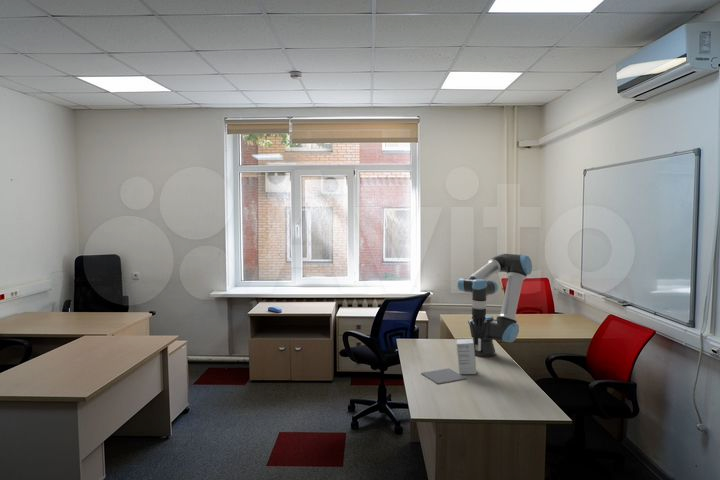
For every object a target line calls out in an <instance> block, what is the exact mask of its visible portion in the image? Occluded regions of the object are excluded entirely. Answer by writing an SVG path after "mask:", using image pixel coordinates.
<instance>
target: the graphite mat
mask: <svg viewBox="0 0 720 480" xmlns="http://www.w3.org/2000/svg"><path fill="white" fill-rule="evenodd" d="M420 374H421V375H422V376H424V378H427V379H429V380H430V381H432V382H433V383H435V384H437V385H440V384H447V383H452V382H458V381H462V380H463V381H464V380H467V377H466V376H464V375H463V374H459V372H457V371H455V370H453V369H451V368H443V369H437V370H436V369H435V370H429V371H424V372H420Z"/></svg>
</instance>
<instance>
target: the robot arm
mask: <svg viewBox="0 0 720 480" xmlns="http://www.w3.org/2000/svg"><path fill="white" fill-rule="evenodd" d="M532 262H533V261H532V259H531V258H530V256H528V255H525V254H513V253H501V254H497V255H496V256H493V257H491V258H489V260H488V261H487V262H486V264H485V265H483V266H482V267H480V268H479V269H478V270H476V271H475V272H473V273H471V274H470V275H469V276H468V277H467V278H464V277H463V278H461V277H460V278H458V280H457V290H458V291H461V292H464V293H465V292H467V293H472V297H471V298H472V299H471V314H472V315H471V316H472V317H471V319H470V320H468V321H467V323H468V325H469V330H470V336H471V338H472V339H473V342H474V350H475V357H476V356H477V357H482V358H485V357H487V358H489V357H493V356H495V355H496V349H495V346H494V341H493V340H496V341H502V342H504V343H513V342H514V341H515V340H516V339H517V337H518V335H519V332H520V326H519V324H518V323H517V322H518V320H517V319H516V314H517V310H518V305H519V300H520V296H521V291H522V287H523V286H522V285H523V282H524V280H526V279H527V276H528V275H531V274H532V271H533V263H532ZM499 273H506V276H508V277H507V282H506V286H505V292H504V297H503V299H502V304H501V310H500V314H498V315H497V316H496V319H494V316H493V315H487V309H486V308H487V296H490V295H494V294H495V293H497V291H498V290H499V286H498V284H497V282H496V281H494V280H488V279H489V278H491V277H492V276H494V275H495V274H496V275H497V274H499Z"/></svg>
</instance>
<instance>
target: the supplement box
mask: <svg viewBox="0 0 720 480" xmlns="http://www.w3.org/2000/svg"><path fill="white" fill-rule="evenodd" d="M455 342H456V352H457V353H456V355H457V362H458V364H457V365H458V374H460V375H477V364H476V363H477V362H476V355H475V350H474V342H473V338H463V339H462V338H460V339H459V338H458V339H456V341H455Z"/></svg>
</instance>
